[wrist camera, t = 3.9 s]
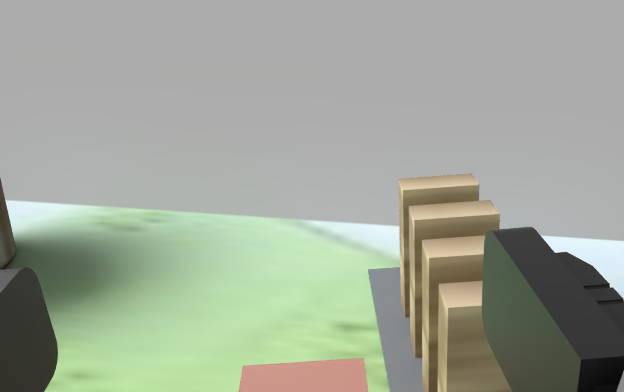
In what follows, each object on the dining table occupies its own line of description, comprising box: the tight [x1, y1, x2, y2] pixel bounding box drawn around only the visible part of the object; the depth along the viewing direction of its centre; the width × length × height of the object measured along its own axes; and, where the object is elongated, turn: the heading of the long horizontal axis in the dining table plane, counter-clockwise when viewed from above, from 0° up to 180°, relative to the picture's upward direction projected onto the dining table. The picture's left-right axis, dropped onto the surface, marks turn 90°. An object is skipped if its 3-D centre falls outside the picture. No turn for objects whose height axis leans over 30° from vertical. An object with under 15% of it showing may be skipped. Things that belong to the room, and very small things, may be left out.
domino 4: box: [409, 200, 500, 358], centre depth 37 cm, size 2×5×10 cm, turn 90°
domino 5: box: [399, 174, 479, 317], centre depth 41 cm, size 2×5×10 cm, turn 90°
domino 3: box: [422, 235, 485, 392], centre depth 33 cm, size 2×5×10 cm, turn 91°
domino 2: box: [438, 281, 512, 392], centre depth 29 cm, size 2×5×10 cm, turn 91°
